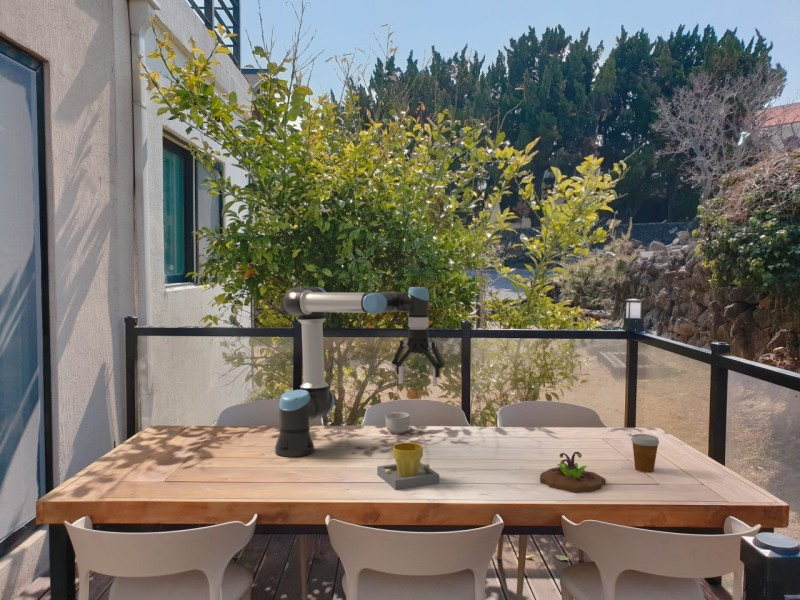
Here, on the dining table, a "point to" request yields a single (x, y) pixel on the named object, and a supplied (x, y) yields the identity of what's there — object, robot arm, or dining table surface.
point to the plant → (572, 477)
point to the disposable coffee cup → (644, 451)
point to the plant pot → (407, 458)
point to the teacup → (397, 422)
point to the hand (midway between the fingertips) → (417, 384)
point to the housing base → (398, 482)
